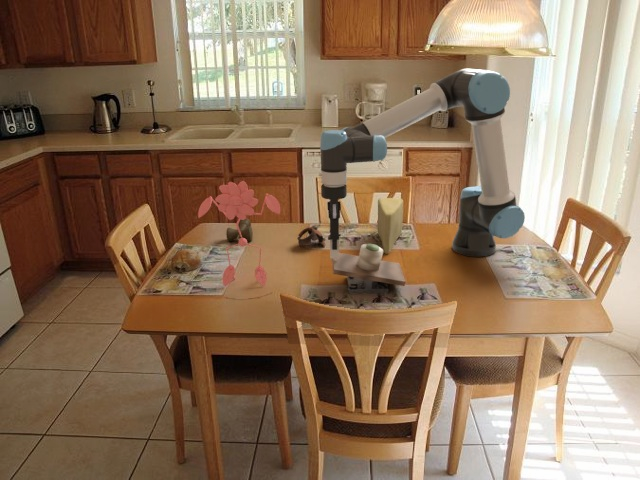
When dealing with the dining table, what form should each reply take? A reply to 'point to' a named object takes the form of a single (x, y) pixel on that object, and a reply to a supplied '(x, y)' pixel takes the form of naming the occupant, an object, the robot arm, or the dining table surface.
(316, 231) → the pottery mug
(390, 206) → the cheese
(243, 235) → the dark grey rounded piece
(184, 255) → the bread roll
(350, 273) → the panel with push button
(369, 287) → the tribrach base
